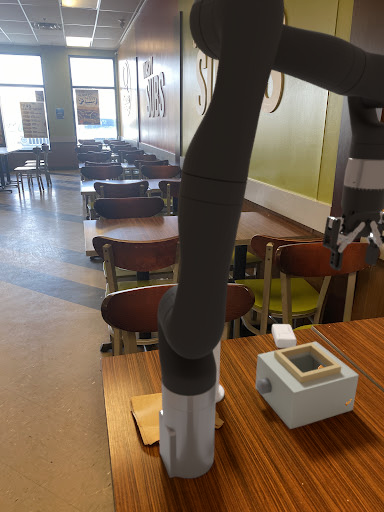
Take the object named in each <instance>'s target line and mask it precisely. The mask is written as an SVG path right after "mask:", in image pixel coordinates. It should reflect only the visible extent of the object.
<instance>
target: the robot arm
mask: <svg viewBox="0 0 384 512" xmlns="http://www.w3.org/2000/svg"><path fill="white" fill-rule="evenodd" d="M190 8H191V9H190V12H189V19H188V20H189V21H188V23H189V24H188V25H189V31H190V35H191V38H192V39H193V42H194V43H195V46H196V47H197V48H198V49H199V50H200V51H201V52H202V53H203V54H204V55H205V56H207V57H208V58H210V59H213V60H216V61H218V62H217V68H216V69H217V70H216V77H215V82H214V83H215V84H214V87H213V93H212V96H211V99H210V102H209V104H208V107H207V109H206V111H205V112H204V113H205V114H204V116H203V117H202V119H201V121H200V123H199V125H198V126H197V128H196V131H195V132H194V134H193V137H192V138H191V141H190V143H189V145H188V147H187V149H186V152H185V155H184V158H183V162H182V168H181V173H180V180H179V181H180V182H179V190H178V196H177V229H178V230H177V231H178V233H177V234H178V244H179V257H180V259H179V261H180V266H179V275H178V282H177V284H175V285H174V286H171V287H170V288H168V290H166V292H165V293H164V294H163V295H162V296H161V299H160V300H159V303H158V307H157V315H156V316H157V340H158V341H157V342H158V359H159V365H160V370H161V371H160V372H161V410H159V411H158V426H159V427H158V429H159V430H158V431H159V435H158V436H159V454H160V457H161V460H162V463H163V464H164V467H165V469H166V472H167V475H168V477H169V478H171V479H172V478H177V477H178V478H182V479H196V478H198V477H202V476H203V475H205V474H206V473H208V472H209V471H210V469H211V468H212V466H213V463H214V458H215V457H214V456H215V433H216V432H215V430H216V429H215V427H216V403H217V402H216V374H217V368H216V362H215V358H214V354H213V350H214V348H215V347H216V346H217V345H218V343H219V341H220V339H222V336H223V334H224V331H225V325H226V324H225V323H226V311H227V310H226V309H227V297H228V286H229V285H228V284H229V275H230V269H231V265H232V264H231V263H232V259H233V255H234V250H235V245H236V240H237V236H238V235H237V233H238V229H239V225H240V218H241V215H242V211H243V206H244V201H245V195H246V189H247V185H248V180H249V170H250V166H251V159H252V155H253V154H252V153H253V149H254V143H255V140H256V134H257V130H258V125H259V119H260V115H261V110H262V107H263V103H264V99H265V95H266V90H267V87H268V83H269V80H270V76H271V73H272V71H275V72H277V73H280V74H284V75H286V76H290V77H292V78H296V79H298V80H301V81H303V82H306V83H308V84H311V85H313V86H316V87H317V88H321V89H323V90H326V91H329V92H331V93H334V94H335V95H338V96H343V97H347V98H346V99H347V107H348V116H349V123H350V130H351V139H350V140H351V141H350V147H349V153H348V154H349V155H348V160H347V164H346V166H345V172H344V179H343V187H342V194H341V202H340V206H341V209H342V214H341V216H340V217H339V216H338V217H335V216H332V215H328V216H327V218H326V220H325V221H326V222H325V229H324V231H323V239H322V247H324V248H326V249H329V250H330V256H329V257H330V258H329V266H330V268H331V269H332V270H334V271H341V269H342V265H343V259H344V252H343V251H344V250H345V249H346V248H347V246H348V245H349V244H352V242H353V241H354V240H356V239H357V240H358V239H361V238H365V239H366V241H367V243H368V244H367V246H366V250H365V257H364V263H365V264H367V265H370V266H375V265H376V263H377V261H378V259H379V258H378V257H379V252H380V248H381V247H382V246H383V244H384V122H382V121H380V120H379V118H378V113H377V109H384V54H381V53H375V52H369V51H366V50H364V49H362V48H361V47H359V46H357V45H355V44H353V43H351V42H349V41H348V40H345V39H344V38H341V37H339V36H335V35H332V34H329V33H325V32H321V31H316V30H312V29H311V30H310V29H304V28H300V27H299V28H298V27H296V26H292V25H287V24H285V2H284V0H193V3H192V5H191V7H190ZM215 402H216V403H215Z"/></svg>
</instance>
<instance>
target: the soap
mask: <svg viewBox="0 0 384 512" xmlns="http://www.w3.org/2000/svg"><path fill="white" fill-rule="evenodd" d="M271 334H272V337H273V340H274V343H275V346H276V348H277V349H285V348H289V347H294V346H297V337H296V335H295V333H294V331H293V327H292V325H290V324H289V323H287V324H285V323H283V324H282V323H273V324H272V325H271Z"/></svg>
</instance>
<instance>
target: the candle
mask: <svg viewBox="0 0 384 512" xmlns="http://www.w3.org/2000/svg"><path fill="white" fill-rule="evenodd" d="M221 339H222V338H221ZM221 339H220V341H219V343H218V345H217V346H216V347H215V348H214V350H213V354H214V358H215V362H216V368H217V374H216V402H215V404H216V403H218V402H220V401H222V400H223V398H224V396H225V390H224V387H223V386H222V385H221V384H220V367H221V366H220V365H221V363H220V361H221Z"/></svg>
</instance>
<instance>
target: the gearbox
mask: <svg viewBox="0 0 384 512" xmlns="http://www.w3.org/2000/svg"><path fill="white" fill-rule="evenodd" d="M256 359H257V360H256V374H255V387H254V388H255V389H256V390H257V392H258V393H259V394H260V395H261V396H262V397H263V399H264V400H265V402H266V403H267V404H268V405H269V406H270V408H272V410H273V411H274V413H276V414H277V416H278V417H279V418H280V420H282V421H283V423H284V424H285V425H286V426H287V428H288V429H289V430H291V429H296V428H299V427H303V426H307V425H310V424H312V423H315V422H319V421H323V420H325V419H328V418H331V417H334V416H335V417H336V416H338V415H341V414H344V413H347V412H348V413H349V412H350V411H353V410H354V403H355V399H356V398H355V397H356V392H357V386H358V382H359V381H358V380H359V376H360V375H359V373H357V372H356V371H354V369H352V368H351V367H349V366H348V365H347V364H345V363H344V362H343V361H341V360H340V359H339V358H338V357H337V356H336V355H334V354H333V353H332V352H330V351H329V350H328V349H326V348H325V347H324V346H323V345H321V344H320V343H319V342H317V341H313V342H307V343H303V344H299V345H296V346H294V347H289V348H279V349H275V350H272V351H268V352H263V353H259V354H257V358H256ZM320 365H322V366H323V367H324V368H320V369H318V367H319V366H320ZM302 372H303V373H302ZM350 399H352V400H351V402H350V403H349V404H348V405H347V406H346V405H345V404H346V402H348V401H350Z"/></svg>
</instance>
